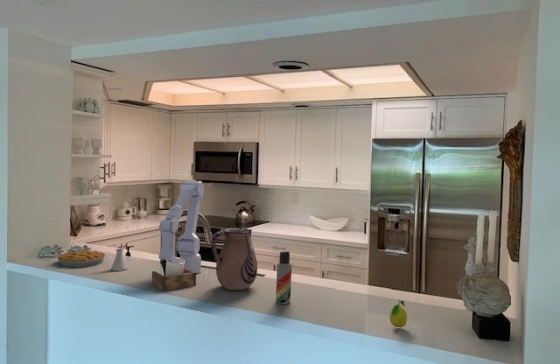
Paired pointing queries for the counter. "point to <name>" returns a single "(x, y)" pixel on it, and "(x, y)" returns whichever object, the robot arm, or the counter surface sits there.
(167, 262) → the white cup
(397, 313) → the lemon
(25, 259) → the counter surface
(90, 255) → the pie
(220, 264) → the ceramic pitcher
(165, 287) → the wooden box
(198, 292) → the counter surface
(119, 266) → the flask
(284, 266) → the lotion bottle
